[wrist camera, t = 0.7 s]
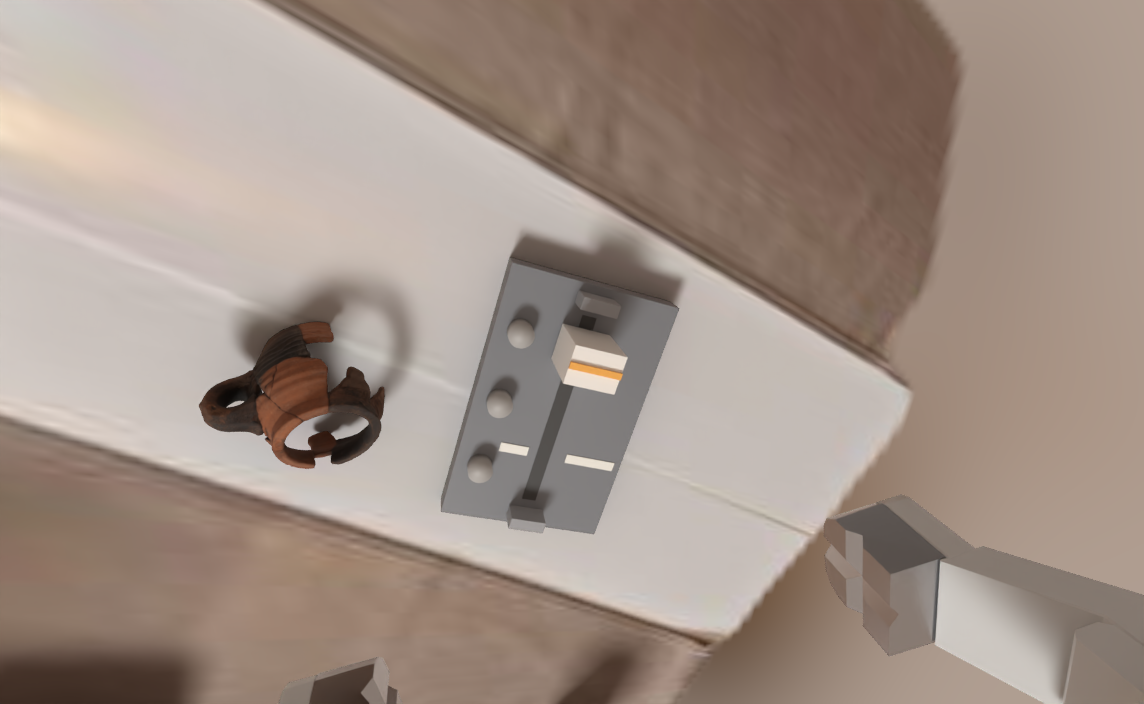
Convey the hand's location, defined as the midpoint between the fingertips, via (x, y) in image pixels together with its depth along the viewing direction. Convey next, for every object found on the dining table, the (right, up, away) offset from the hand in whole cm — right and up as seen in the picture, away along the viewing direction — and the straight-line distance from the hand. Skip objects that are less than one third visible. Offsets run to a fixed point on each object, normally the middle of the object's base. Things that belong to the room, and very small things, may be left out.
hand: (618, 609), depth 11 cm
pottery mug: (-21, +2, +36) cm, 42 cm away
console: (-2, 0, +40) cm, 40 cm away
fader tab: (0, +5, +37) cm, 37 cm away
